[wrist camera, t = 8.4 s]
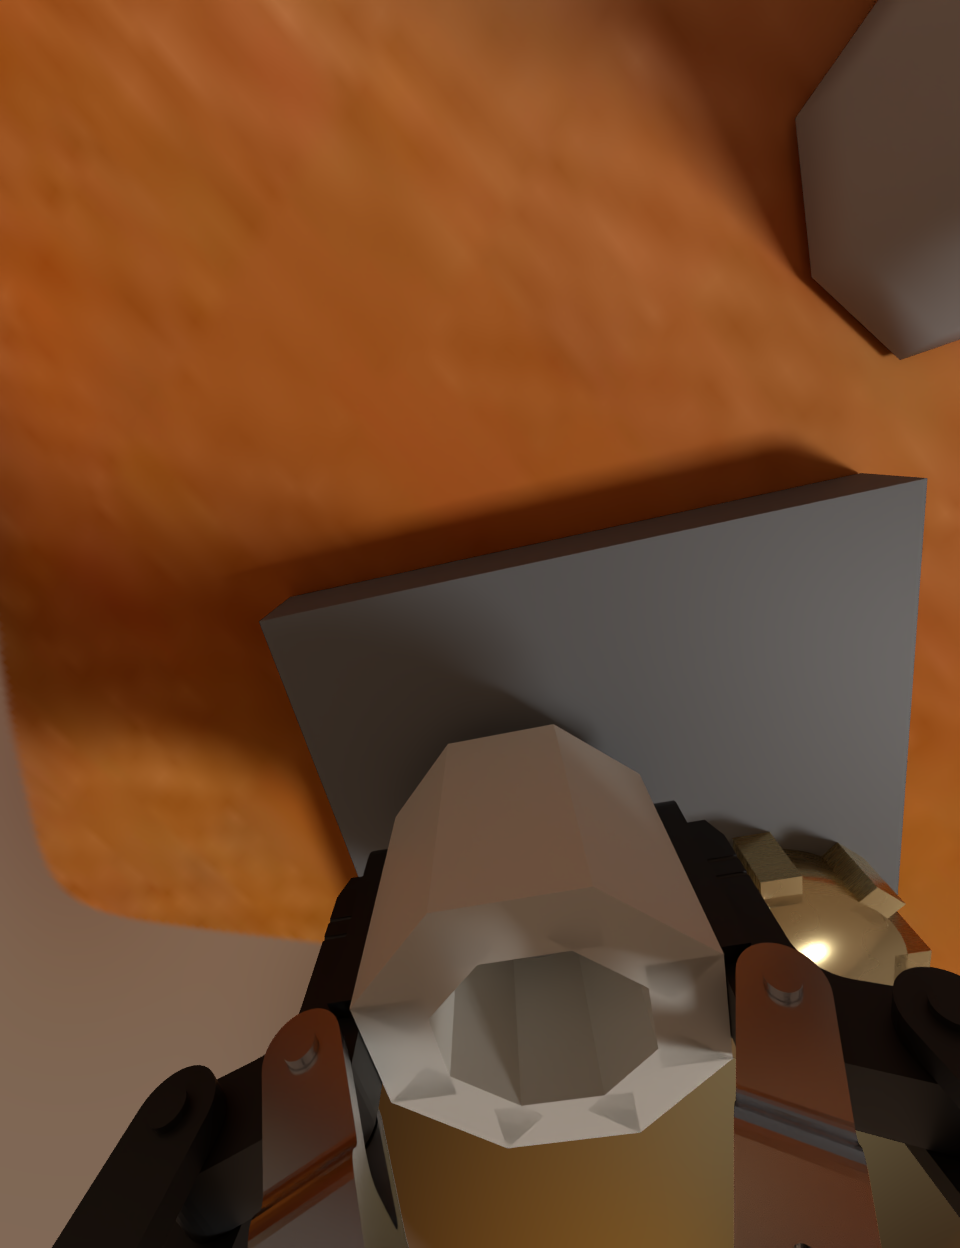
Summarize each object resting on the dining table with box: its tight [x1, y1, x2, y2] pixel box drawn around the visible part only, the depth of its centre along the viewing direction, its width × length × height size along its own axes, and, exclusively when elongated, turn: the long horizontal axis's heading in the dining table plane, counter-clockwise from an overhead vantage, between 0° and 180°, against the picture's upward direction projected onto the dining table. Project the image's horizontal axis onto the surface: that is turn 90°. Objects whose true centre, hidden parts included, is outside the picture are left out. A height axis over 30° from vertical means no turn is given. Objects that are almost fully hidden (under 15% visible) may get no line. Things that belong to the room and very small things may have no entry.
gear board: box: [259, 473, 927, 958], centre depth 13 cm, size 17×15×6 cm
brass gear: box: [731, 832, 931, 1059], centre depth 14 cm, size 8×8×3 cm
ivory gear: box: [350, 724, 733, 1148], centre depth 10 cm, size 6×6×4 cm
